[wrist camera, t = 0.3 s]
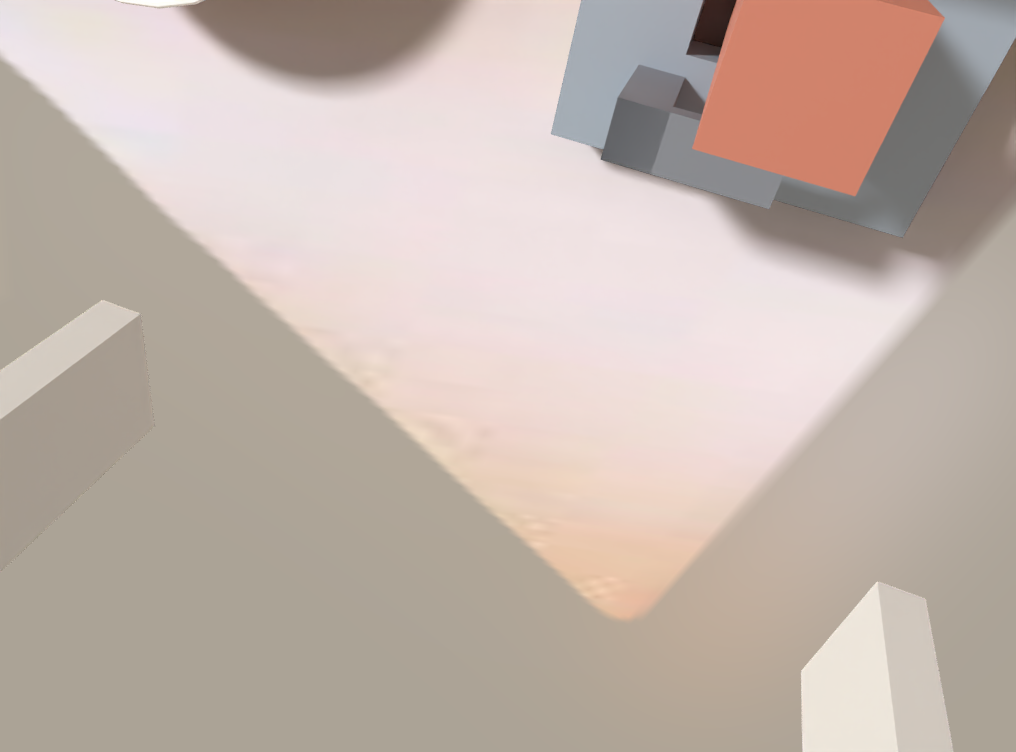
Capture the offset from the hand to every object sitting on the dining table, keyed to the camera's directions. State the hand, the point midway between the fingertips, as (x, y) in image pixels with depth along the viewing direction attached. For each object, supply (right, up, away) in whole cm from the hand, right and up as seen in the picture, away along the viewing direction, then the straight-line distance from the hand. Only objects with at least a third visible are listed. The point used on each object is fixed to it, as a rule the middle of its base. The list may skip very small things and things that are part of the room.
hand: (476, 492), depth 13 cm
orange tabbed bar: (+12, +18, +18) cm, 29 cm away
